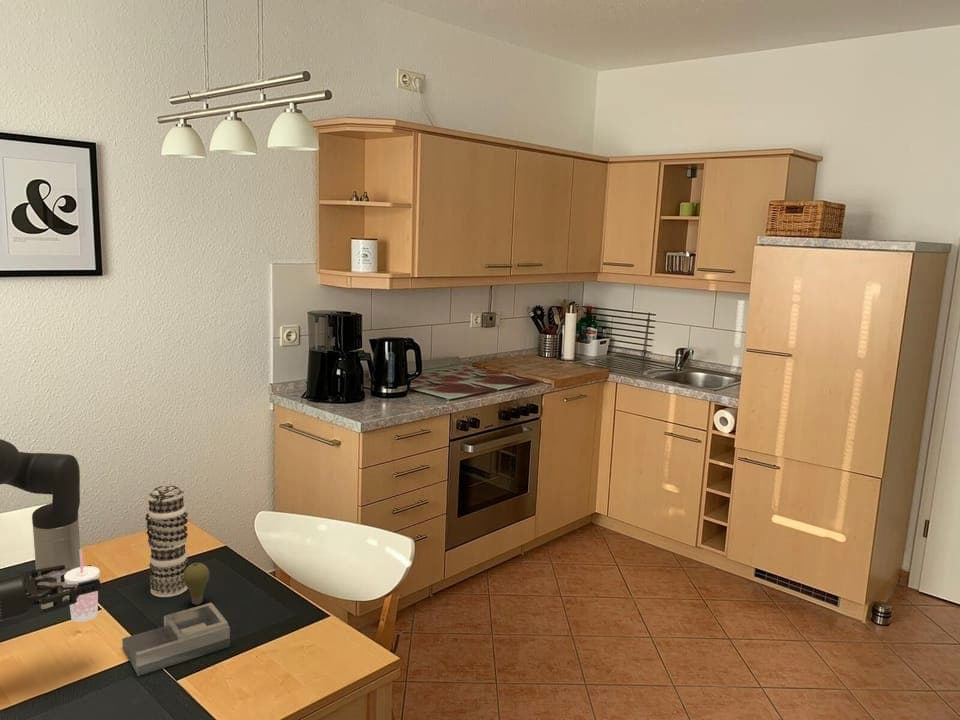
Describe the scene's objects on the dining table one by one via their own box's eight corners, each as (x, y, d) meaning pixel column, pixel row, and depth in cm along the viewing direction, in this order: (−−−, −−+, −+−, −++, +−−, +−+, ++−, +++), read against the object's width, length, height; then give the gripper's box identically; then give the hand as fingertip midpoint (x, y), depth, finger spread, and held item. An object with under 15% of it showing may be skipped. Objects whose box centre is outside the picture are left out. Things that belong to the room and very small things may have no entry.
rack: (122, 647, 154) (121, 625, 153) (210, 621, 165) (210, 600, 164) (137, 676, 144) (136, 652, 143) (230, 646, 155) (229, 624, 154)
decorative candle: (155, 602, 172) (150, 499, 167) (143, 586, 179) (139, 487, 174) (195, 591, 177) (192, 491, 173) (183, 575, 184) (179, 479, 180)
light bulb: (201, 612, 168) (200, 570, 166) (179, 608, 169) (177, 567, 167) (215, 600, 174) (213, 560, 172) (193, 596, 175) (192, 557, 173)
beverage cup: (109, 612, 148) (105, 547, 145) (81, 627, 142) (77, 559, 139) (87, 604, 150) (83, 539, 147) (59, 618, 145) (55, 551, 142)
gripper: (-2, 599, 130) (103, 574, 140) (-12, 566, 141) (87, 545, 151) (1, 638, 131) (105, 610, 141) (-8, 602, 142) (89, 579, 152)
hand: (95, 577), depth 146 cm, fingers closed on beverage cup, 6 cm apart
